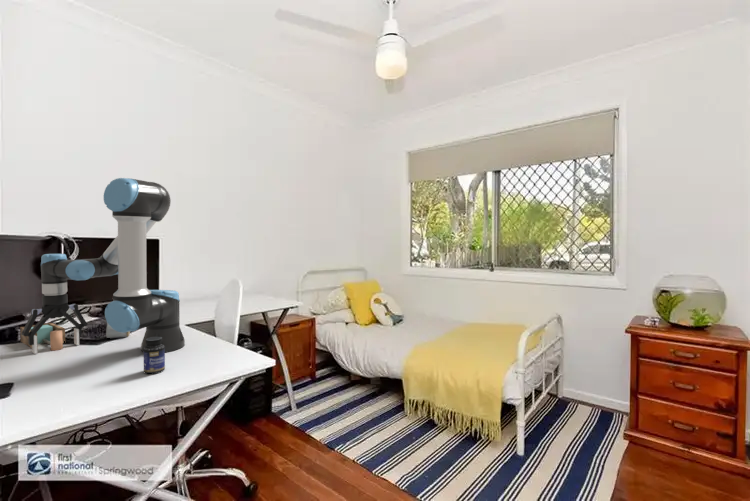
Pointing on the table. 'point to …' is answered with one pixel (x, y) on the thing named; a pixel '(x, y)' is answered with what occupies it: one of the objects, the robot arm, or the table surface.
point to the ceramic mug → (115, 333)
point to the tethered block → (50, 337)
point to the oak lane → (25, 338)
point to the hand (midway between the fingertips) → (56, 348)
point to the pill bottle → (154, 355)
